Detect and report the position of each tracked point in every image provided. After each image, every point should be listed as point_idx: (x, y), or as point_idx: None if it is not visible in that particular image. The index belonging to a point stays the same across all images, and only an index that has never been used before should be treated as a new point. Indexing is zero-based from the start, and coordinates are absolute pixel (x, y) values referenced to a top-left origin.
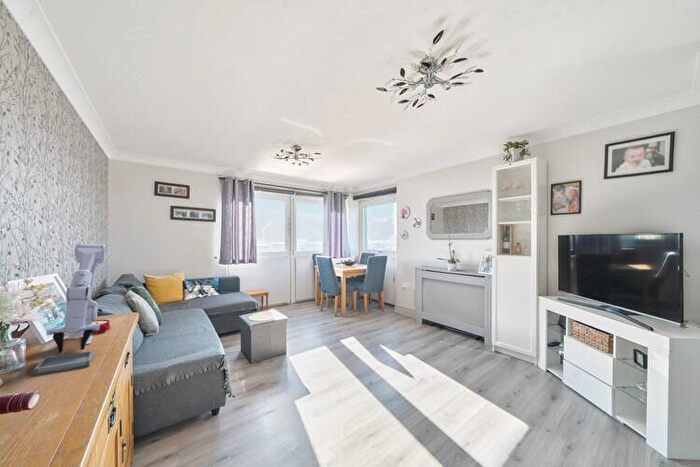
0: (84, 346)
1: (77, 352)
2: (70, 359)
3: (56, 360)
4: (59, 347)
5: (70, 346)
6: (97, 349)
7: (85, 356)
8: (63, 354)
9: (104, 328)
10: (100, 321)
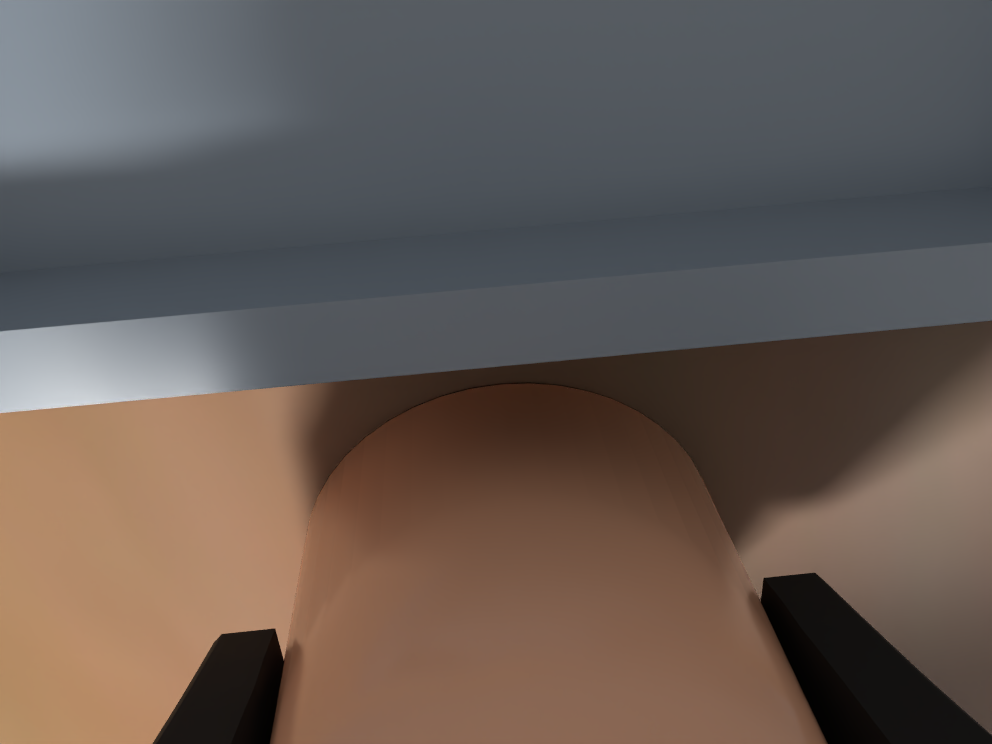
0: (177, 736)
1: (344, 523)
2: (401, 66)
3: (797, 161)
4: (918, 714)
5: (570, 675)
6: (35, 733)
7: (1, 205)
8: (684, 491)
9: None
10: None
